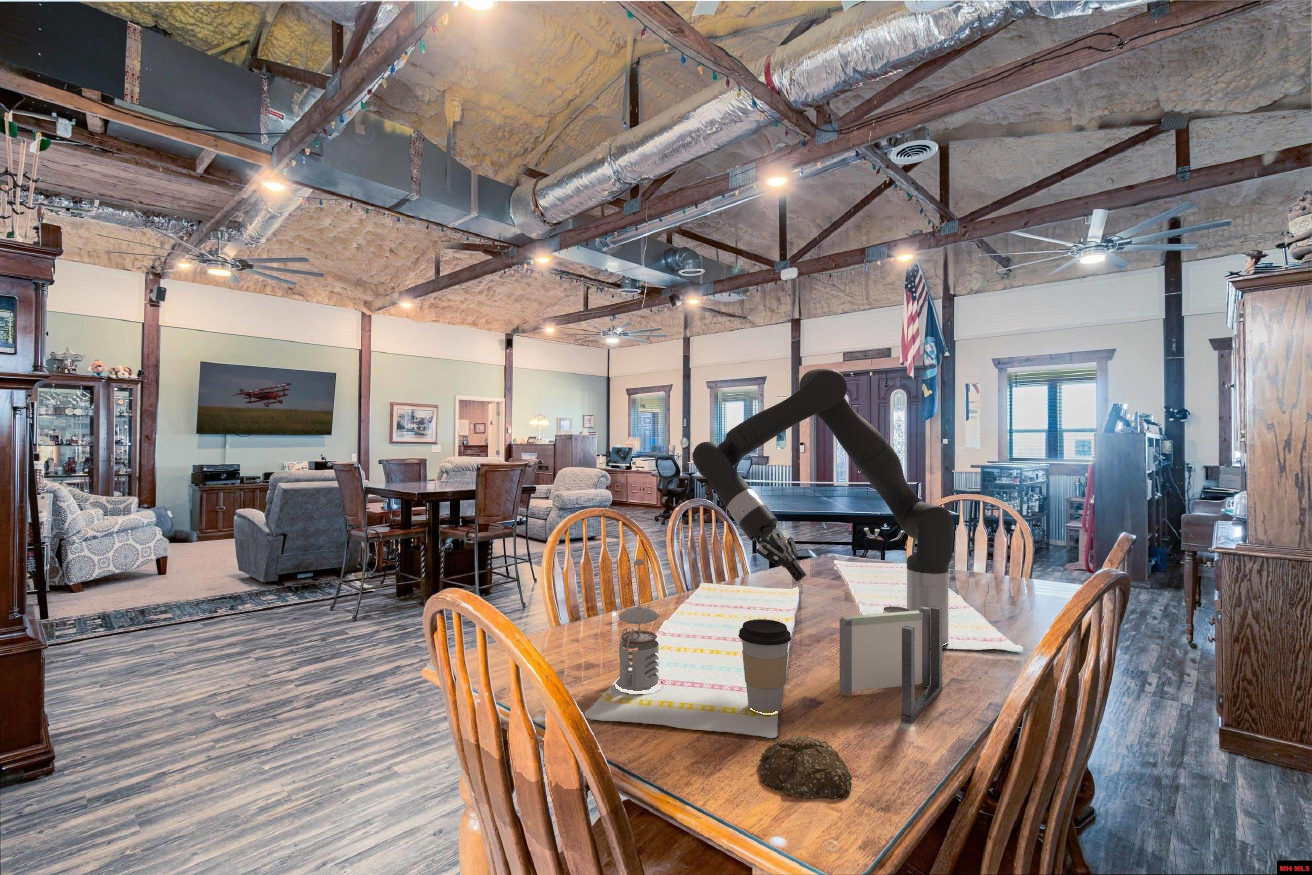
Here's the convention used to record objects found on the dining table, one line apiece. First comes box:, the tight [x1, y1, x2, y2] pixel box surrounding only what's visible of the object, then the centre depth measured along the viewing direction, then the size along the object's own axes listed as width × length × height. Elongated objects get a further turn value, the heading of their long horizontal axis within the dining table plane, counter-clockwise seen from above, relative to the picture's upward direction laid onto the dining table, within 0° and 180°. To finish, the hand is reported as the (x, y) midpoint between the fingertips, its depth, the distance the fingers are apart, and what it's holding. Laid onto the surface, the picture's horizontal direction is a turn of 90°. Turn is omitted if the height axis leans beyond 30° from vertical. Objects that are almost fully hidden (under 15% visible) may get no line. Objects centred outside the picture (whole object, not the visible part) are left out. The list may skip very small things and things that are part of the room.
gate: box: [839, 607, 931, 696], centre depth 117 cm, size 19×2×15 cm, turn 104°
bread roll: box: [758, 735, 853, 800], centre depth 87 cm, size 13×12×5 cm
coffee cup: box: [738, 618, 792, 714], centre depth 109 cm, size 9×9×15 cm
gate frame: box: [900, 606, 944, 724], centre depth 111 cm, size 19×2×16 cm, turn 139°
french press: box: [615, 558, 660, 691], centre depth 119 cm, size 10×12×25 cm
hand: (801, 578), depth 125 cm, fingers closed
